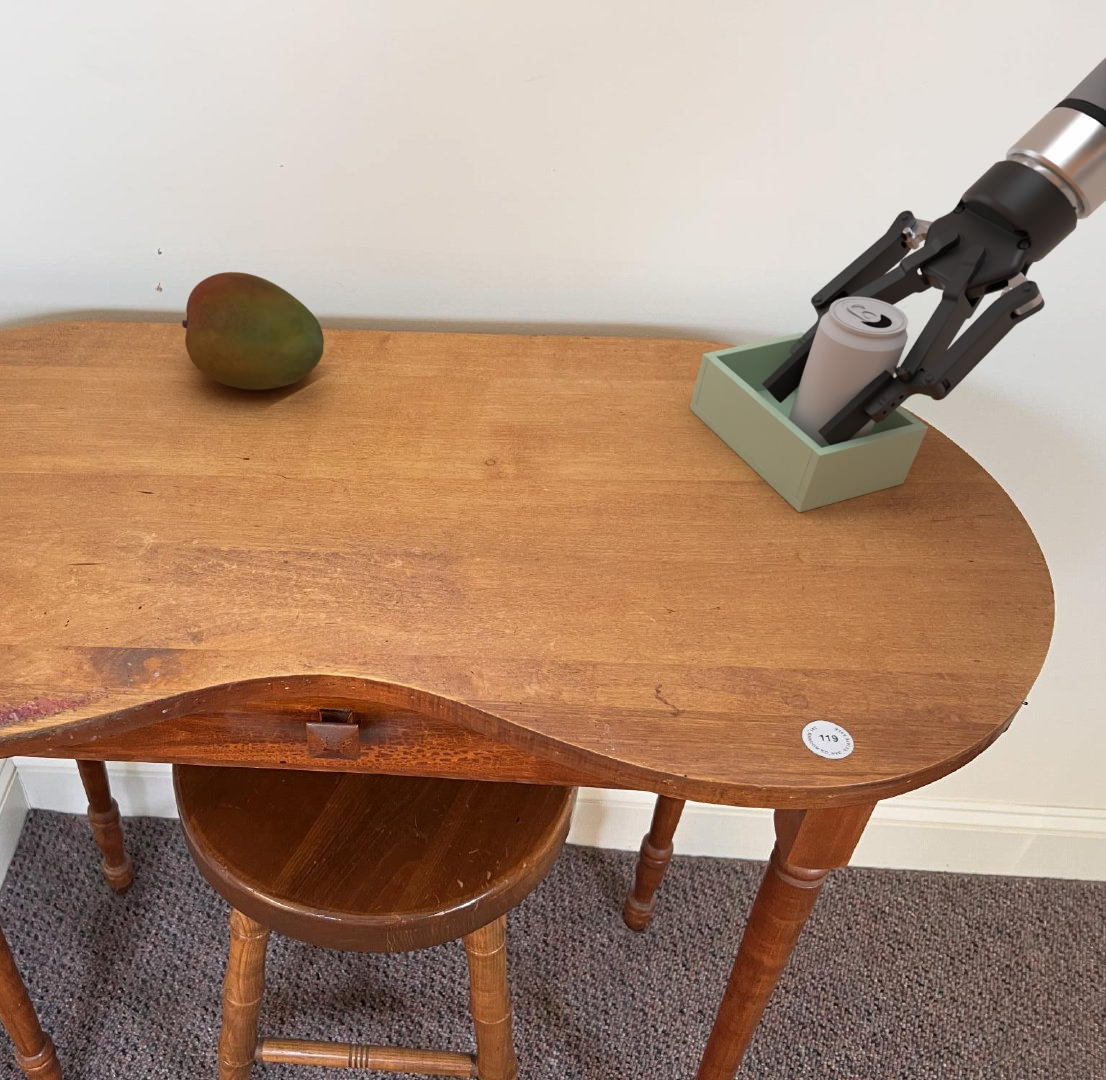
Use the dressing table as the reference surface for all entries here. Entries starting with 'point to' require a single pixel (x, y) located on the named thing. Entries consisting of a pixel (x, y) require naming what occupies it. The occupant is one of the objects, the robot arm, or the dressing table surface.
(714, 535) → the dressing table surface
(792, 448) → the bin
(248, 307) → the fruit
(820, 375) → the beverage can
